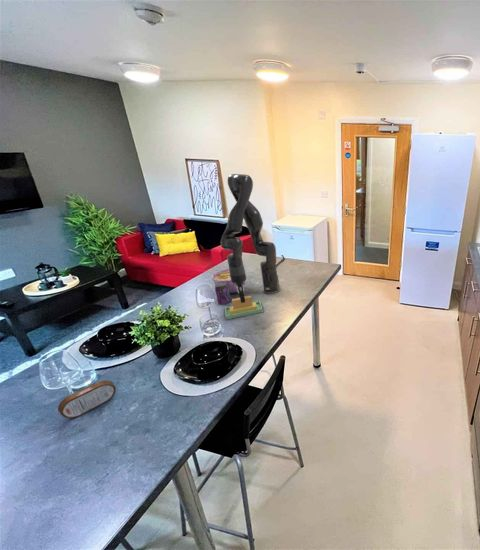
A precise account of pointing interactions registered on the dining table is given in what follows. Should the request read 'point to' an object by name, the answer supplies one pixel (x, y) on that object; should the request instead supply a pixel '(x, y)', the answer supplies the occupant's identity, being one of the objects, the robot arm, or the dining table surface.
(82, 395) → the tin
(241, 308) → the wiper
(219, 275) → the bowl of food
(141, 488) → the dining table surface
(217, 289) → the beverage can
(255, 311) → the tray
